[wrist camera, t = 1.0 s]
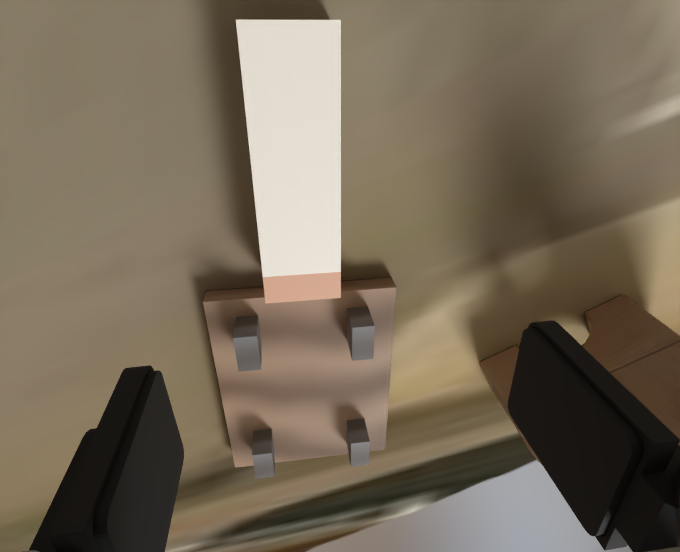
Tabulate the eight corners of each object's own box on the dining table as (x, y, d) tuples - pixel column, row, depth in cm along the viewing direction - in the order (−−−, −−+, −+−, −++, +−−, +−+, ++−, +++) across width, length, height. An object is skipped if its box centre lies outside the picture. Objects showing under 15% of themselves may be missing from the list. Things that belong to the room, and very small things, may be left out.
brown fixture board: (205, 291, 31) (197, 322, 28) (391, 277, 33) (405, 305, 30) (236, 453, 40) (232, 492, 37) (381, 436, 42) (391, 472, 38)
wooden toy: (498, 405, 42) (736, 795, 20) (478, 361, 39) (736, 772, 17) (649, 335, 40) (1087, 685, 19) (642, 283, 37) (1164, 634, 15)
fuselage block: (241, 21, 24) (235, 19, 20) (331, 22, 24) (340, 20, 21) (266, 274, 31) (265, 303, 28) (333, 269, 32) (340, 298, 29)
